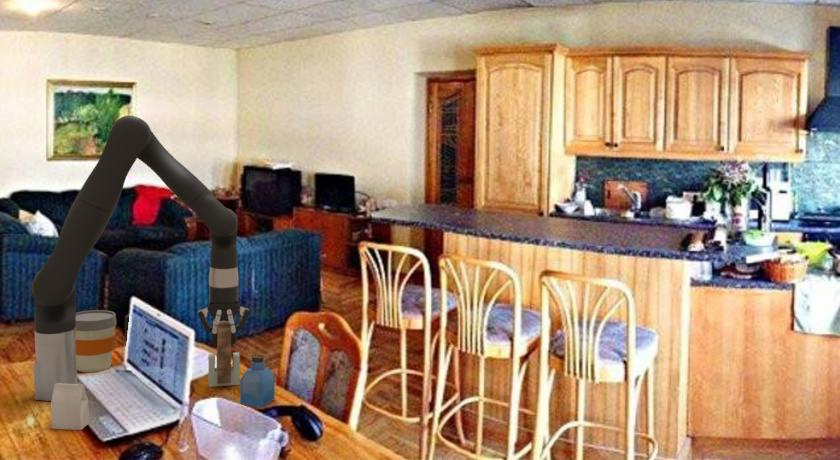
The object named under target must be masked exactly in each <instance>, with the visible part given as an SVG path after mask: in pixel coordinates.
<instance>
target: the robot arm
mask: <svg viewBox="0 0 840 460" xmlns="http://www.w3.org/2000/svg"><path fill="white" fill-rule="evenodd" d="M137 159H138V160H139V161H141V162H142V163H144V164H145V165H146V166H147V167H148V168H149V169H150V170H151V171H153V172H154V173H155V174H156V175H157V177H159V179H160V180H161V181H162V182H163V183H164V184H165V185H166V187H167V188H168V189H169V190H170V192H172V193H173V195H175V196H176V197H177V199H179V201H181V202H182V203H183V204H184V205H185V206H186V207H187V208H188V209H190V211H192V212H193V213H195V215H196V216H197V217H198V218H199V219H200V220H201V221H202V223H203V224H204V225H205V226H206V227H207V228H208V229H209V230H210V235H211V236H210V237H211V240H210V241H211V248H210V252H209V258H210V259H209V264H210V265H209V277H208V285H209V286H208V288H209V289H208V291H209V292H208V293H209V294H208V299H209V300H208V301H209V302H208V305H207V307H205V308H203V309H201V308H199V309H198V311H197V315H198V318H199V320H200V322H201V324H202V326H203V329H204V331H205V332H206V333H210V334H211V344H212V346H214V347H215V348H217V326H218V325H219V321H229V324H230V326H231V347H233V346H234V345H235V344H236V341H237V339H236V334H237V332H238V331H243V328H244V327H245V323H246V322H247V319H248V318H249V315H250V309H249V308H248V307H243V306H241V304H240V303H239V270H238V257H239V256H238V247H237V244H238V243H237V242H238V220H239V219H238V216H237V214H236V212H235V211H233V210H232V209H230V208H227V207H225V206H224V204H222V203H221V202H220V201H219V200H218V199H217V198H216V197H215V194H214V193H213V192H212V191H211V190H210V189H209V188H208V187H207V186H206V185H205V184H204V183H203V182H202V181H201V180H200V179H199V178H198V177H197V176H196V175H194V174H193V173H192V172H191V171H190V170H189V169H188V168H187V167H185V166H184V165H183V164H182V163H181V162H180V161H178V160H177V159H176V158H175V157H174V156H173V154H171V152H169V150H167V148H166V147H165V146H163V144H162V143H161V142H160V141H159V139H158V137H156V135H155V134H154V133H153V131H152V130H151V127H150V126H149V124H148V123H147V121H145V120H144V119H142V118H140V117H138V116H135V115H124V116H122V117H119V118H118V119H117V120H116V121H114V123H113V124H112V126H111V129H110V131H109V135H108V137H107V140H106V142H105V145H104V148H103V149H102V153H101V155H100V157H99V159H98V161H97V162H96V163H97V164H96V165H94V168H93V169H92V171H91V172H90V173H89V175H88V177H87V178H86V179H85V182H84V183H83V185H82V187H81V188H80V190H79V192H78V193H77V196H76V197H75V199H74V201H73V203H72V205H71V206H70V208H69V211H68V213H67V216H66V218H65V220H64V223H63V225H62V227H61V230H60V234H59V237H58V240H57V242H56V243H55V246H54V249H53V250H52V252H51V254H50V256H48V259H47V261H46V262H45V263H44V265H43V266H42V268H40V270H39V271H37V273H36V275H35V276H34V278H33V280H32V283H31V293H32V296H33V298H34V305H35V307H34V309H35V310H34V321H33V324H34V325H33V327H34V328H33V329H34V345H35V347H34V349H35V353H34V354H35V360H34V363H33V376H34V377H33V380H34V384H33V385H34V400H35V401H39V400H40V401H46V402H51V400H52V395H53V390H54V384H55V383H61V384H78V370H77V360H76V328H75V327H76V326H75V320H76V313H77V309H76V308H77V303H76V302H77V301H76V299H77V298H76V297H77V295H76V281H77V279H78V276H79V273H80V271H81V269H82V266H83V264H84V262H85V260H86V259H87V256H88V255H89V253H90V252H91V251H92V249H93V248H94V246H95V245H96V244H97V242H98V241H99V239H100V237H101V235H102V234H103V233H104V231H105V229H106V228H107V226H108V224H109V222H110V220H111V218H112V216H113V214H114V212H115V211H116V208H117V206H118V203H119V201H120V198H121V195H122V193H123V192H122V191H123V188H124V185H125V182H126V179H127V176H128V175H129V173H130V171H131V170H132V168H133V166H134V164H135V162H136V160H137ZM239 312H240V313H239ZM208 313H209V314H210V315H211V316H212V318H213V322H212V326H210V324H209V322H208V319H207V317H208ZM238 313H239V314H240V319H239V321H238V323H237V324H235V321H234V318H235V317H236V316H237V314H238Z"/></svg>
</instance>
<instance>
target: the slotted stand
mask: <svg viewBox="0 0 840 460" xmlns="http://www.w3.org/2000/svg"><path fill="white" fill-rule="evenodd" d="M240 356H241V355H240V352H232V366H231V383H223V384H218V368H217V367H216V355H215V353H208V358H207V359H208V387H210V388H211V387H224V386H226V387H227V386H240V380H241V378H240V377H241V376H240V370H241V369H240V366H241V364H240V362H241V361H240V360H241V359H240Z"/></svg>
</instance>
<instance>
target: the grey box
mask: <svg viewBox="0 0 840 460" xmlns="http://www.w3.org/2000/svg"><path fill="white" fill-rule="evenodd" d="M89 414H90V413H89V398H88V394H87V392H86V388H85V384H78V383H77V384H61V383H55V384H54V390H53V395H52V400H51V401H50V415H51V416H50V419H51V420H50V421H51V425H50V426H51V429H53V430H54V429H55V430H72V431H73V430H74V431H81V430H83V429H84V428H85V427H86V426H88V425H89V424H90V421H89V420H90V416H89ZM88 423H89V424H88Z"/></svg>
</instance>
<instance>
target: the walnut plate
mask: <svg viewBox="0 0 840 460" xmlns="http://www.w3.org/2000/svg"><path fill="white" fill-rule="evenodd" d="M231 367H232V346H231V326H230V324H229V321H219V325H218V326H217V347H216V368H218V384H223V383H231Z"/></svg>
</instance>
